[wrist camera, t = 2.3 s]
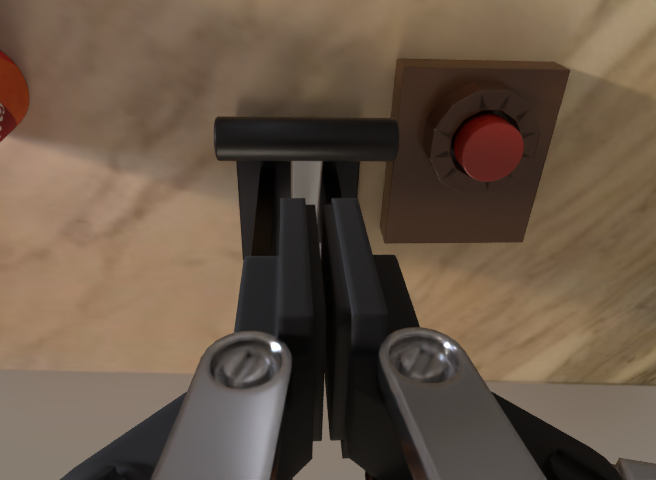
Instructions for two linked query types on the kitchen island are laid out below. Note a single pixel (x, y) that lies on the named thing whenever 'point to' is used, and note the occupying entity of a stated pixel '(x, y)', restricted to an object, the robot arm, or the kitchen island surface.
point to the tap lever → (306, 145)
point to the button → (488, 147)
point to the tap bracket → (274, 183)
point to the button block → (438, 148)
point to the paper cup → (11, 96)
